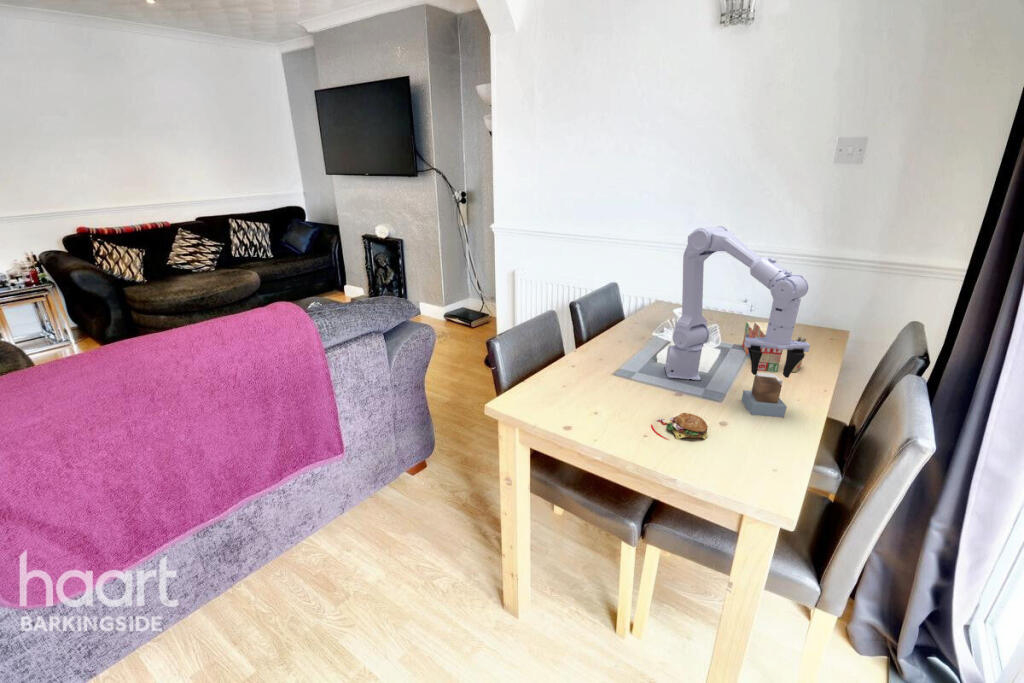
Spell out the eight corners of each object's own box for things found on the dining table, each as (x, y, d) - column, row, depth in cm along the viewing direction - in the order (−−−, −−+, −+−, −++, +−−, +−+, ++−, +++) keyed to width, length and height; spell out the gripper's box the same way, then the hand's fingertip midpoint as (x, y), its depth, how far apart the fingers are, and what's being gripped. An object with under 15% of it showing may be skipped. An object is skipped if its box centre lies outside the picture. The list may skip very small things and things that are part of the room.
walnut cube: (756, 401, 124) (760, 384, 122) (751, 392, 128) (755, 375, 127) (777, 403, 123) (781, 385, 121) (771, 394, 128) (775, 377, 126)
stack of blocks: (741, 346, 170) (748, 313, 165) (760, 348, 168) (767, 314, 164) (756, 370, 150) (764, 333, 146) (777, 372, 149) (786, 335, 144)
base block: (751, 416, 124) (753, 404, 122) (740, 401, 131) (743, 390, 130) (783, 418, 123) (786, 406, 121) (771, 403, 130) (774, 392, 129)
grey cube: (760, 397, 133) (764, 380, 131) (751, 388, 138) (755, 373, 136) (778, 397, 133) (782, 380, 131) (769, 389, 138) (772, 373, 136)
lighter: (795, 373, 148) (803, 343, 145) (782, 370, 151) (789, 340, 147) (801, 367, 153) (809, 337, 149) (788, 363, 155) (795, 334, 152)
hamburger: (696, 416, 123) (700, 395, 121) (720, 446, 110) (725, 423, 108) (642, 415, 123) (645, 394, 121) (660, 446, 110) (663, 423, 108)
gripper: (754, 327, 116) (743, 378, 121) (819, 332, 113) (806, 384, 118) (746, 318, 122) (736, 367, 127) (808, 322, 120) (795, 372, 125)
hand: (769, 374), depth 123 cm, fingers open, 7 cm apart
